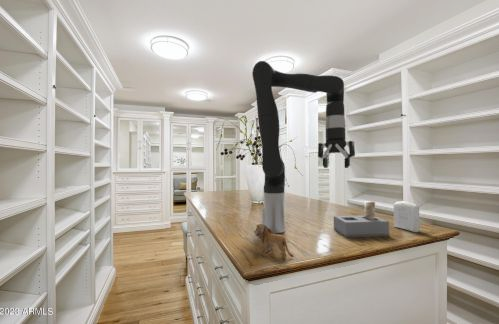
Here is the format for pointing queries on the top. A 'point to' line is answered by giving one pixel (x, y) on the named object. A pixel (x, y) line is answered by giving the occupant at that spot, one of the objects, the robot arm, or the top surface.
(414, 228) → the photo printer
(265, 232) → the lion figurine
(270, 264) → the top surface
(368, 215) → the pin
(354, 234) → the hole block
